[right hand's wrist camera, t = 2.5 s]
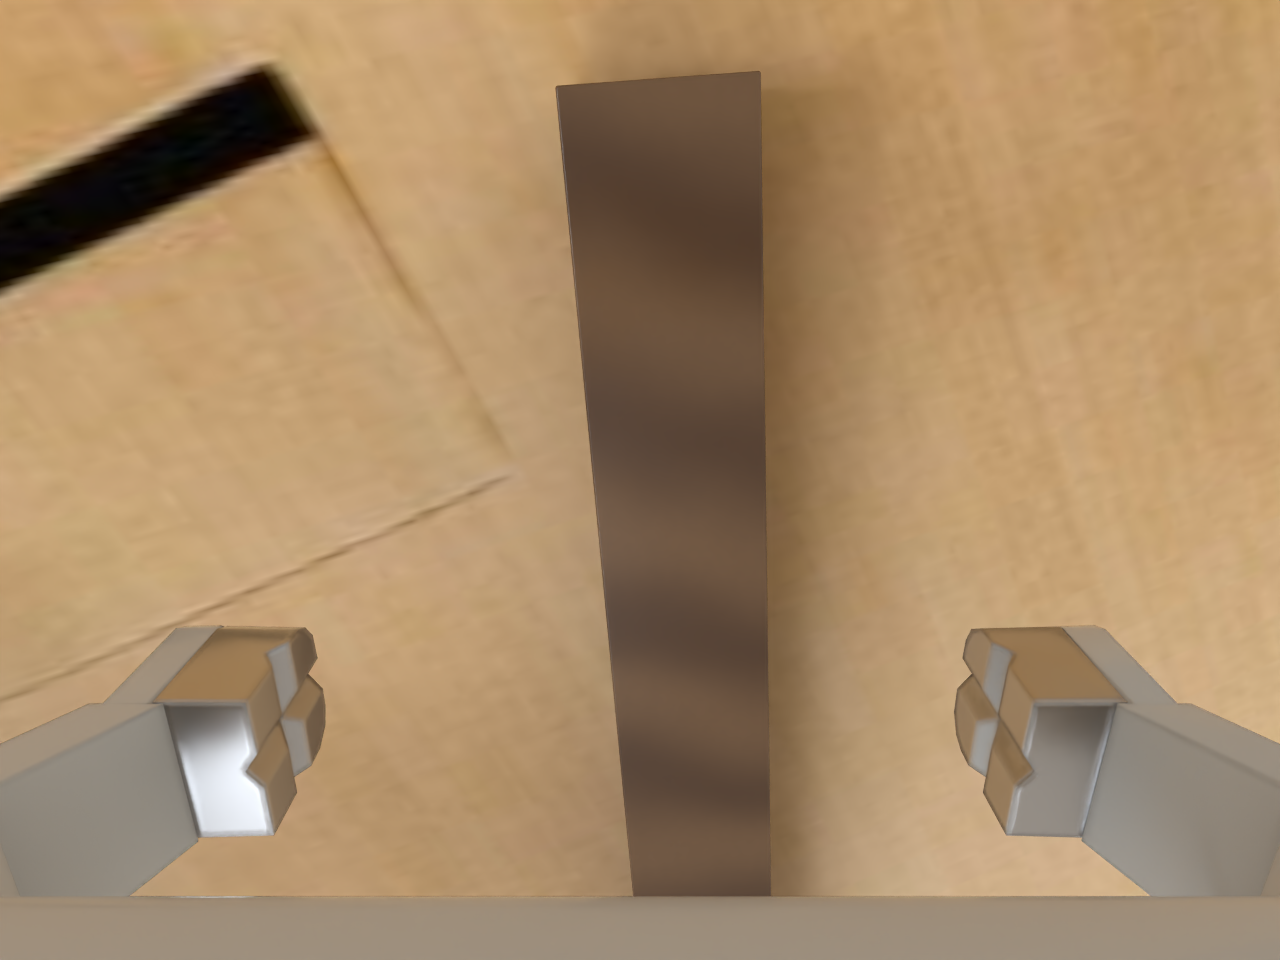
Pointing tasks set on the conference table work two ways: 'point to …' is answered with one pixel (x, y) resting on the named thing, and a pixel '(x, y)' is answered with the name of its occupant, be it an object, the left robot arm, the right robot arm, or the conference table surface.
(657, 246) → the post
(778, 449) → the conference table surface
